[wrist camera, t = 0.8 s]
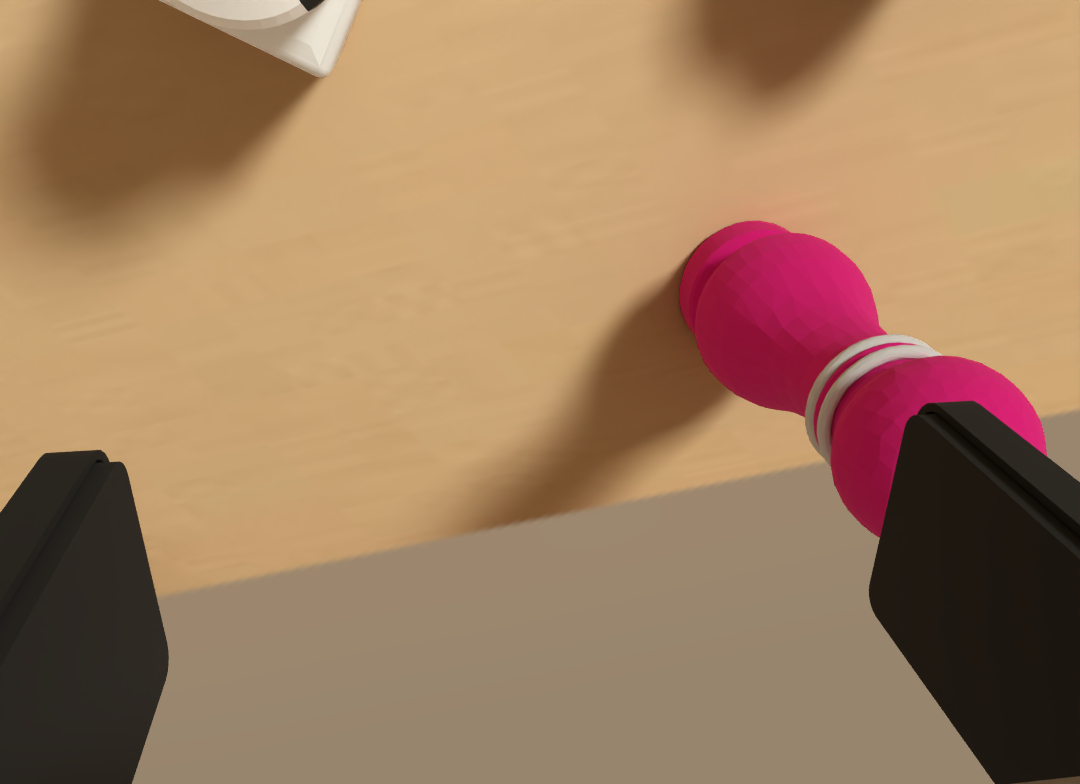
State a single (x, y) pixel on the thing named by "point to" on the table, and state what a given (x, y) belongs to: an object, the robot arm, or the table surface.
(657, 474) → the table surface
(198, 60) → the table surface
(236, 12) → the medicine bottle
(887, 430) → the pepper mill
